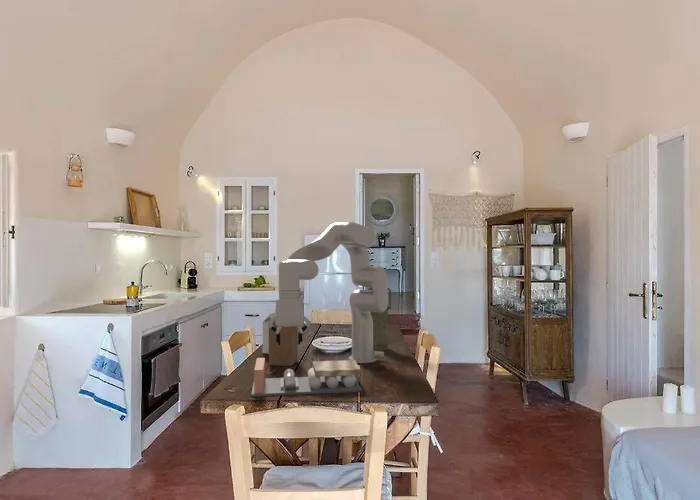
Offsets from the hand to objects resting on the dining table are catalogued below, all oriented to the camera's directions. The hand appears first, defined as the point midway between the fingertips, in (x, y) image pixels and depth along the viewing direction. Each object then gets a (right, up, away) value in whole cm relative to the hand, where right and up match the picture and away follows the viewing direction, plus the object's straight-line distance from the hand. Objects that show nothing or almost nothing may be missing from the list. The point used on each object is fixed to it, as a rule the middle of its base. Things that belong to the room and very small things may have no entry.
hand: (289, 343), depth 174 cm
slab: (+17, -10, +2) cm, 20 cm away
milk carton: (-15, -15, +57) cm, 61 cm away
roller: (0, -15, 0) cm, 15 cm away
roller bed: (+6, -16, +1) cm, 17 cm away
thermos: (+36, -15, +64) cm, 75 cm away
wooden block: (-7, -16, +35) cm, 39 cm away
